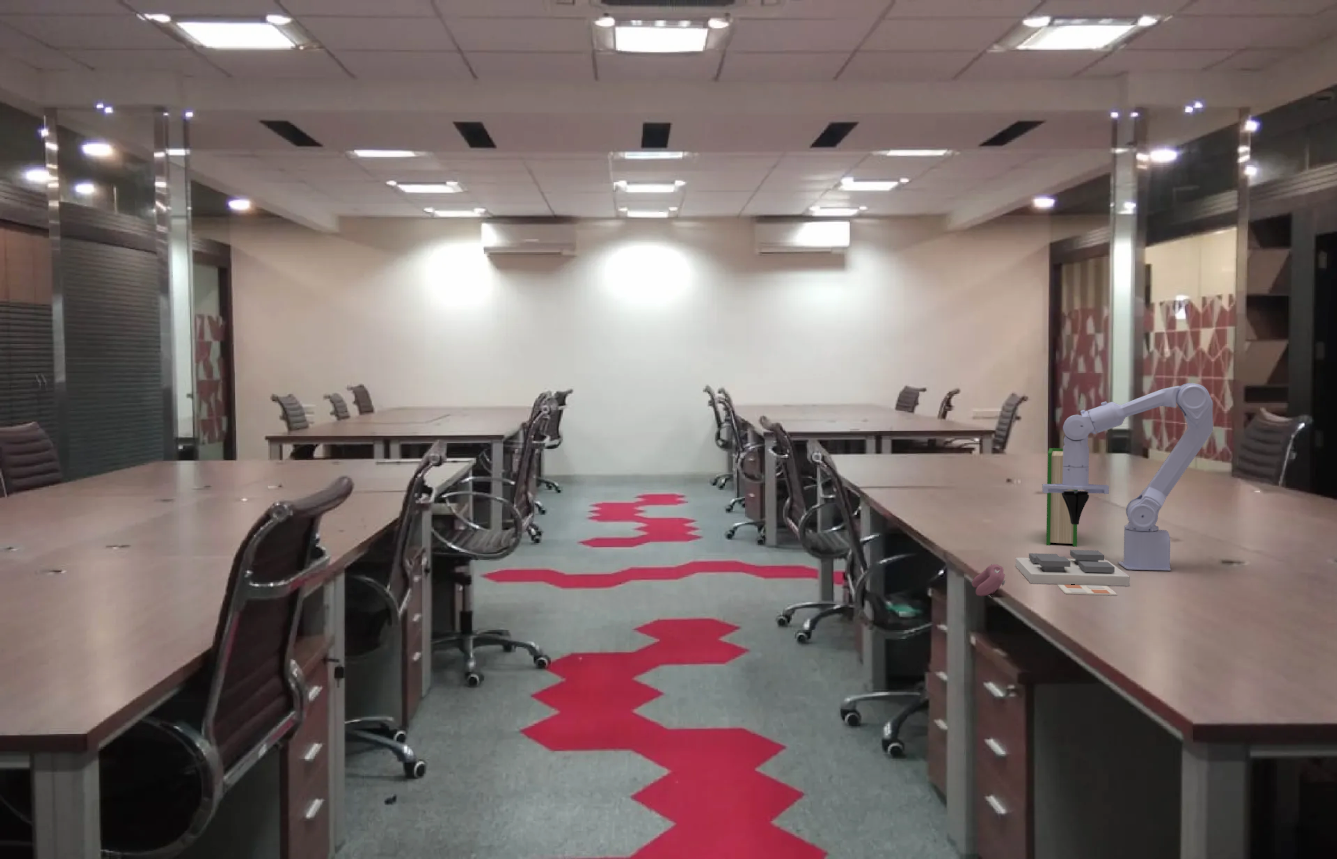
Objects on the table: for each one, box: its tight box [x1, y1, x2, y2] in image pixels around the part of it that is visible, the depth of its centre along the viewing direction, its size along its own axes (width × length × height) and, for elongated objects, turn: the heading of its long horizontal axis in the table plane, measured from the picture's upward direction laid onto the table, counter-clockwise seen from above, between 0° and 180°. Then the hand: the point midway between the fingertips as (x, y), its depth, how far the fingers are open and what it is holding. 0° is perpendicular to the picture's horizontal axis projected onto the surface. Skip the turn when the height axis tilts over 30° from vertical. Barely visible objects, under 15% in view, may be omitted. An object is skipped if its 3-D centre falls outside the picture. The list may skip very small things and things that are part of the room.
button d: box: [1036, 555, 1071, 572], centre depth 231 cm, size 6×6×3 cm
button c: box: [1079, 561, 1115, 573], centre depth 229 cm, size 6×6×3 cm
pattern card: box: [1056, 584, 1118, 596], centre depth 219 cm, size 10×8×1 cm
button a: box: [1069, 549, 1105, 565], centre depth 238 cm, size 6×6×3 cm
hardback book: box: [1045, 447, 1079, 548], centre depth 281 cm, size 18×7×24 cm, turn 159°
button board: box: [1015, 557, 1131, 587], centre depth 235 cm, size 20×20×2 cm
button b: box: [1028, 552, 1059, 564], centre depth 240 cm, size 6×6×3 cm
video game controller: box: [971, 563, 1006, 597], centre depth 218 cm, size 10×5×7 cm, turn 169°
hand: (1074, 523), depth 248 cm, fingers closed
